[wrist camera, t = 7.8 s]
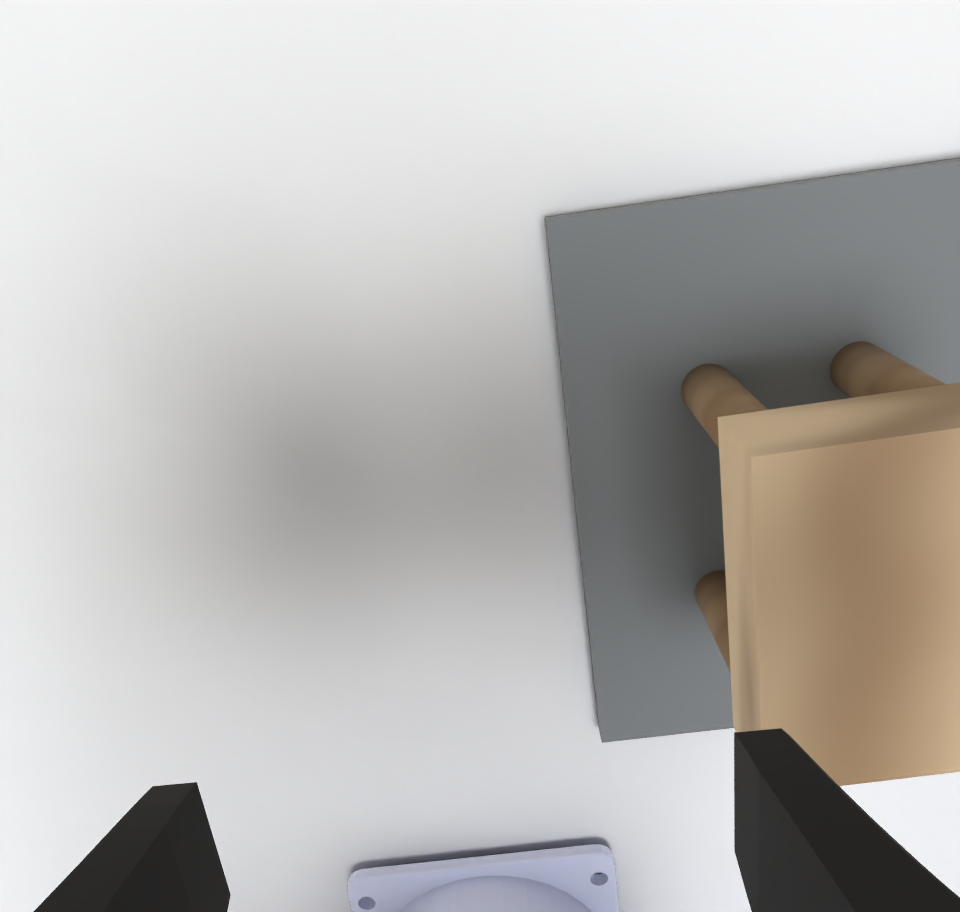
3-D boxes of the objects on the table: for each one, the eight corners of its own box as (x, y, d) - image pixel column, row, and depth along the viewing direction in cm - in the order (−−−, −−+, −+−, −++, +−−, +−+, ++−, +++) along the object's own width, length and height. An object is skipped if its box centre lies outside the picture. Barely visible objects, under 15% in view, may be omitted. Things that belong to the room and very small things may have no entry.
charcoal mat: (960, 687, 23) (972, 700, 22) (599, 728, 23) (602, 742, 23) (1008, 150, 18) (1025, 151, 17) (544, 216, 18) (547, 219, 18)
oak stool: (893, 328, 19) (1071, 412, 13) (885, 596, 21) (1032, 762, 16) (670, 360, 19) (751, 457, 13) (688, 621, 21) (763, 795, 16)
